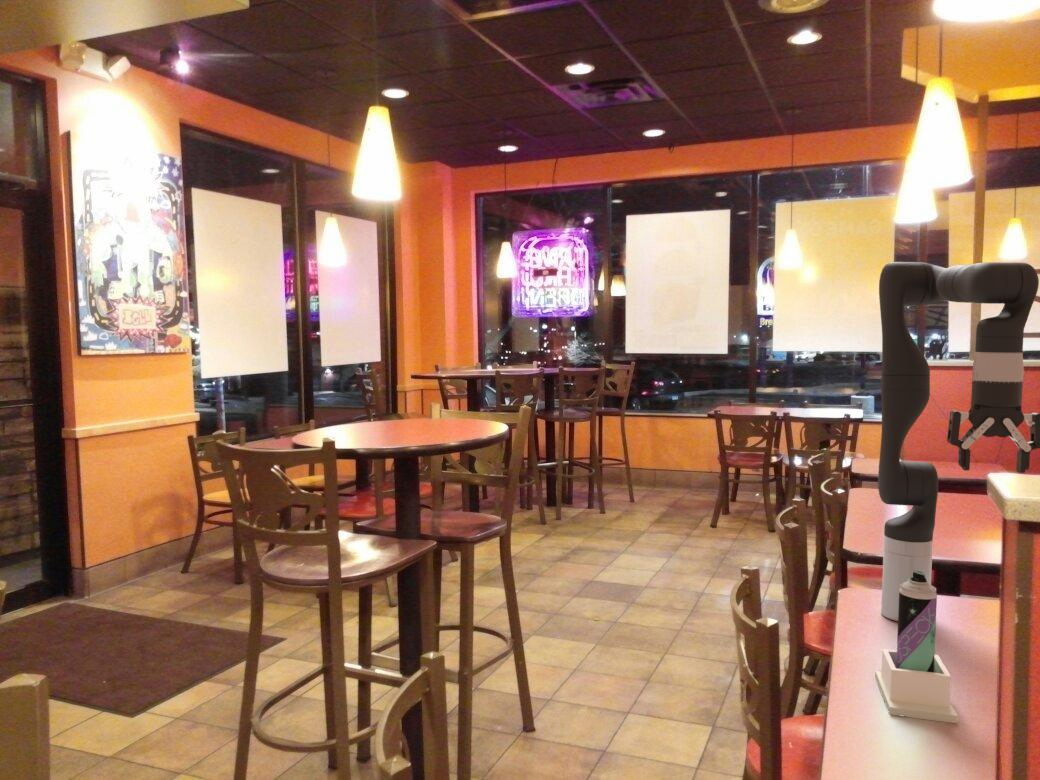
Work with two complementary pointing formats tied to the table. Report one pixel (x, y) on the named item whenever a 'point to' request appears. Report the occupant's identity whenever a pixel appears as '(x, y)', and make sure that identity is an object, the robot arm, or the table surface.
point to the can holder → (916, 690)
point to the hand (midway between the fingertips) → (992, 471)
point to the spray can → (916, 624)
